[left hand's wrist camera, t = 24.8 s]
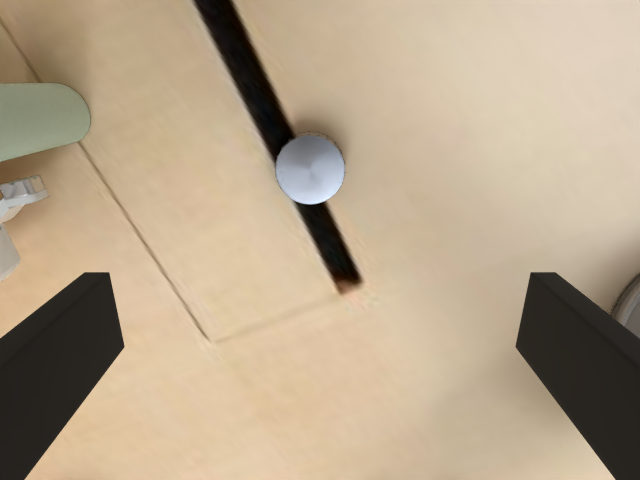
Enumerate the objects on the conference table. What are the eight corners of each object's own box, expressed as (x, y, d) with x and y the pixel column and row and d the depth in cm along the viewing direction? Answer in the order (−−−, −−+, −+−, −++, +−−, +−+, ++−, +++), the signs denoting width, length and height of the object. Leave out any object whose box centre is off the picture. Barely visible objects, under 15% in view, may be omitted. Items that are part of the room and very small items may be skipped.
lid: (328, 206, 34) (329, 215, 31) (267, 183, 33) (264, 190, 31) (354, 146, 32) (357, 151, 30) (290, 119, 31) (289, 122, 29)
